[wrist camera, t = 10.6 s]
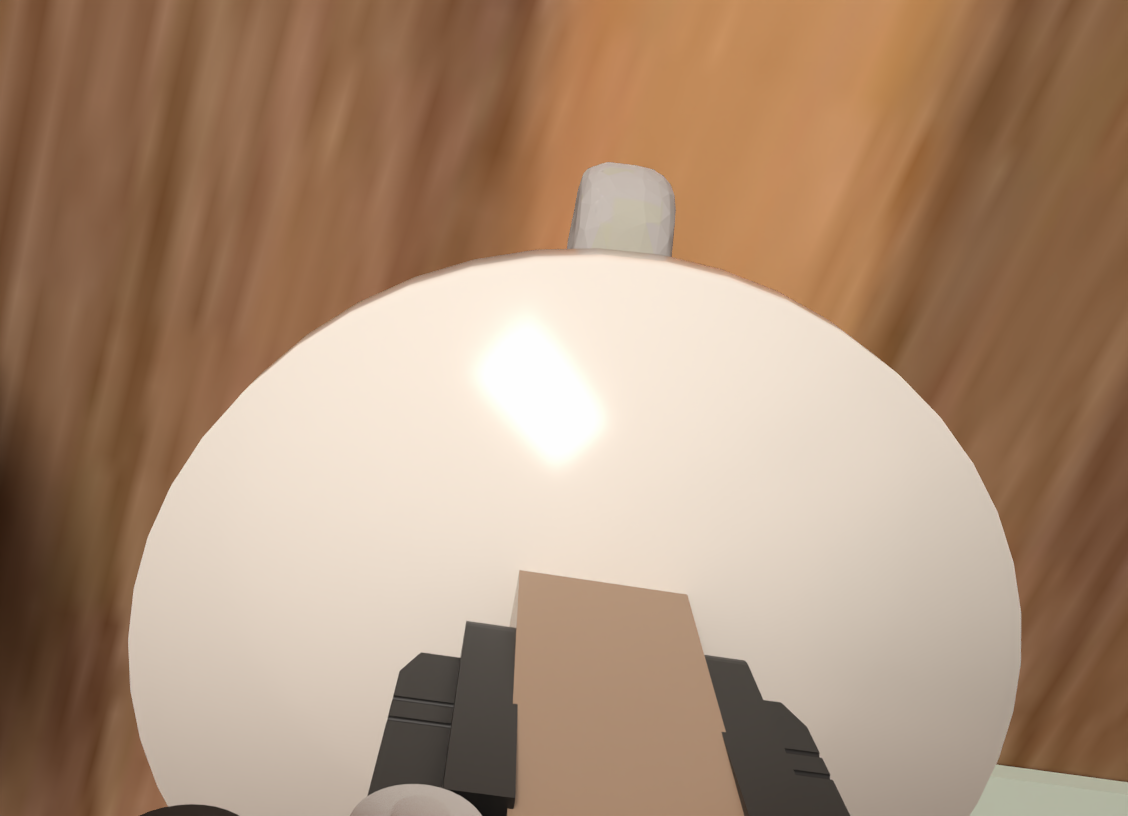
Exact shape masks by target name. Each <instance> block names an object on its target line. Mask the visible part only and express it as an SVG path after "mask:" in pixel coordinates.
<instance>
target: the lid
mask: <svg viewBox="0 0 1128 816" xmlns="http://www.w3.org/2000/svg"><path fill="white" fill-rule="evenodd" d="M466 621H471V622H479V623H486V624H493V625H500V626H507V627H514V628H515V653H514V682H513V704H518V711H517V752H516V793H515V803H514V808H513V809H507V814H506V816H744V813H743V809H742V805H741V802H740V798H739V795H738V791H737V787H736V784H735V780H734V776H733V773H732V769H731V765H730V762H729V758H728V754H727V751H726V747H725V743H724V740H723V736H722V732H726V730H725V727H724V723H723V720H722V716H721V713H720V709H719V706H718V702H717V698H716V695H715V691H714V688H713V684H712V681H711V677H710V674H709V670H708V666H707V663H706V659H705V656H704V655H710V656H717V657H724V658H731V659H738V660H744V661H746V662H747V664H748V666H749V668H750V670H751V673H752V675H753V677H754V680H755V682H756V684H757V686H758V689H759V691H760V693H761V696H762V698H763V700H767V701H775V702H781V703H782V704H783V705H784V706H785V707H786V708H788V709H789V710H790V711H791V712H792V713H793V714H794V715H795V716H796V717H797V718H798V719H799V720H800V721H801V722H802V723H803V724H805V725H806V726H807V728H808V730H809V732H810V734H811V736H812V738H813V740H814V742H815V744H816V746H817V748H818V750H819V752H820V754H819V757H820V758H822V759H823V761H824V763H825V765H826V767H827V769H828V771H829V773H830V780H833V781H834V783H835V785H836V787H837V789H838V791H839V793H840V795H841V797H842V799H843V802H844V804H845V806H846V808H847V810H848V812H849V814H850V816H970V814H971V812H972V811H973V809H974V808H975V806H976V805H977V803H978V801H979V799H980V797H981V795H982V793H983V791H984V788H985V786H986V784H987V782H988V780H989V778H990V776H991V774H992V772H993V769H994V767H995V765H996V763H997V761H998V759H999V756H1000V753H1001V749H1002V746H1003V743H1004V740H1005V736H1006V733H1007V730H1008V727H1009V724H1010V720H1011V717H1012V714H1013V710H1014V703H1015V697H1016V691H1017V684H1018V678H1019V671H1020V665H1021V609H1020V602H1019V596H1018V589H1017V583H1016V576H1015V569H1014V563H1013V559H1012V556H1011V553H1010V550H1009V547H1008V544H1007V540H1006V537H1005V534H1004V531H1003V528H1002V525H1001V522H1000V518H999V515H998V512H997V510H996V508H995V506H994V504H993V502H992V500H991V498H990V496H989V494H988V492H987V490H986V488H985V486H984V484H983V482H982V480H981V478H980V476H979V474H978V472H977V470H976V468H975V466H974V464H973V462H972V461H971V460H970V458H969V457H968V455H967V454H966V453H965V451H964V450H963V448H962V447H961V446H960V444H959V443H958V441H957V440H956V439H955V437H954V436H953V434H952V433H951V432H950V430H949V429H948V427H947V426H946V425H945V423H944V422H943V420H942V419H941V418H940V417H939V415H938V414H937V413H936V412H935V411H934V410H933V409H932V408H931V407H930V406H929V405H928V404H927V403H926V402H925V401H924V400H923V399H922V398H921V397H920V396H919V395H918V394H917V393H916V392H915V391H914V390H913V389H912V388H911V387H910V386H909V385H908V384H907V383H906V382H905V380H904V379H903V378H902V377H901V376H900V375H898V374H897V373H896V372H895V371H894V370H892V369H891V368H890V367H889V366H887V365H886V364H885V363H884V362H883V361H881V360H880V359H879V358H878V357H876V356H875V355H874V354H873V353H871V352H870V351H869V350H867V349H866V348H865V347H864V346H862V345H861V344H860V343H858V342H857V341H856V340H854V339H853V338H852V337H851V336H849V335H848V334H847V333H845V332H844V331H843V330H841V329H840V328H839V327H837V326H836V325H835V324H834V323H832V322H831V321H830V320H828V319H826V318H824V317H823V316H821V315H819V314H817V313H816V312H814V311H812V310H810V309H808V308H807V307H805V306H803V305H801V304H799V303H798V302H796V301H794V300H792V299H791V298H789V297H787V296H785V295H783V294H782V293H780V292H778V291H776V290H773V289H771V288H768V287H765V286H763V285H760V284H758V283H755V282H753V281H750V280H748V279H745V278H742V277H740V276H737V275H735V274H732V273H730V272H727V271H725V270H722V269H718V268H714V267H710V266H706V265H702V264H698V263H694V262H689V261H685V260H681V259H677V258H673V257H669V256H665V255H659V254H650V253H640V252H631V251H622V250H612V249H603V248H585V249H546V250H531V251H525V252H519V253H512V254H506V255H500V256H493V257H487V258H481V259H474V260H471V261H467V262H464V263H461V264H457V265H454V266H451V267H447V268H444V269H441V270H437V271H434V272H430V273H427V274H424V275H420V276H417V277H414V278H412V279H409V280H407V281H405V282H403V283H400V284H398V285H396V286H394V287H392V288H389V289H387V290H385V291H383V292H380V293H378V294H376V295H374V296H372V297H369V298H367V299H365V300H363V301H360V302H358V303H357V304H355V305H353V306H352V307H350V308H349V309H347V310H345V311H344V312H342V313H341V314H339V315H338V316H336V317H334V318H333V319H331V320H330V321H328V322H326V323H325V324H323V325H322V326H320V327H318V328H317V329H315V330H314V331H312V332H310V333H309V334H307V335H306V336H305V337H304V338H303V339H301V340H300V341H299V342H298V343H297V344H295V345H294V346H293V347H292V348H291V349H289V350H288V351H287V352H286V353H285V354H284V355H282V356H281V357H280V358H279V359H278V360H276V361H275V362H274V363H273V364H272V365H270V366H269V367H268V368H267V369H266V370H265V371H263V372H262V373H261V374H260V375H259V376H258V377H257V379H256V380H255V381H254V382H253V383H252V384H251V385H250V386H249V387H248V388H247V389H246V390H245V391H244V392H243V393H242V394H241V395H240V396H239V397H238V398H237V400H236V401H235V402H234V403H233V404H232V405H231V406H230V407H229V409H228V410H227V411H226V412H225V413H224V414H223V415H222V416H221V418H220V419H219V420H218V421H217V422H216V423H215V424H214V425H213V427H212V428H211V429H210V430H209V431H208V432H207V433H206V434H205V436H204V437H203V438H202V439H201V441H200V442H199V444H198V445H197V447H196V448H195V450H194V451H193V453H192V454H191V456H190V458H189V459H188V461H187V462H186V464H185V465H184V467H183V468H182V470H181V471H180V473H179V474H178V476H177V478H176V479H175V481H174V482H173V484H172V485H171V487H170V489H169V491H168V494H167V496H166V498H165V500H164V502H163V505H162V507H161V509H160V511H159V513H158V516H157V518H156V520H155V522H154V525H153V527H152V529H151V531H150V533H149V536H148V539H147V542H146V546H145V549H144V553H143V557H142V560H141V564H140V568H139V571H138V575H137V579H136V582H135V586H134V591H133V600H132V609H131V618H130V627H129V636H128V649H129V670H130V691H131V696H132V701H133V706H134V711H135V716H136V721H137V726H138V731H139V735H140V740H141V743H142V745H143V748H144V751H145V754H146V757H147V759H148V762H149V765H150V768H151V770H152V773H153V776H154V779H155V781H156V784H157V786H158V788H159V790H160V792H161V794H162V796H163V798H164V800H165V801H166V803H167V805H168V807H169V806H175V805H186V804H197V805H208V806H215V807H219V808H222V809H226V810H228V811H231V812H233V813H235V814H237V815H239V816H350V814H351V812H352V810H353V809H354V808H355V807H356V806H357V804H358V803H359V802H360V801H362V800H363V799H364V798H365V797H367V795H368V791H369V788H370V784H371V780H372V776H373V772H374V768H375V764H376V761H377V757H378V753H379V749H380V745H381V741H382V737H383V733H384V730H385V726H386V722H387V719H388V714H389V710H390V706H391V702H392V700H393V695H394V691H395V687H396V683H397V679H398V675H399V671H400V670H401V669H402V668H404V667H405V666H406V665H407V664H408V663H409V662H410V661H412V660H413V659H414V658H415V657H416V656H417V655H418V654H420V653H421V652H422V653H430V654H437V655H444V656H451V657H459V658H460V656H461V650H462V644H463V637H464V631H465V625H466Z"/></svg>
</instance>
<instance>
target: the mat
mask: <svg viewBox="0 0 1128 816" xmlns="http://www.w3.org/2000/svg"><path fill="white" fill-rule="evenodd" d="M970 816H1128V782H1122V781H1114V780H1107V779H1099V778H1092V777H1085V776H1077V775H1070V774H1062V773H1055V772H1048V771H1040V770H1033V769H1025V768H1018V767H1011V766H1003V765H995V767H994V769H993V772H992V774H991V776H990V778H989V780H988V782H987V784H986V786H985V788H984V791H983V793H982V795H981V797H980V799H979V801H978V803H977V805H976V806H975V808H974V809H973V811H972V812H971V814H970Z"/></svg>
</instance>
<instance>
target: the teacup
mask: <svg viewBox="0 0 1128 816" xmlns="http://www.w3.org/2000/svg"><path fill="white" fill-rule="evenodd" d="M675 211H676V209H675V197H674V193H673V190H672V187H671V185H670V183H669V182H668V181H667V180H666V179H665V177H664V176H663V175H661V174H659V173H658V172H656V171H655V170H653V169H649V168H645V167H641V166H636V165H628V164H620V163H612V162H606V163H603V164H600V165H597V166H594V167H591V168H588V169H587V170H586V172H585V173H584V174H583V177H582V180H581V183H580V186H579V189H578V193H577V198H576V204H575V209H574V214H573V219H572V224H571V228H570V233H569V238H568V246H567V249H585V248H603V249H612V250H622V251H631V252H640V253H650V254H659V255H665V256H669V257H671V256H672V246H673V235H674V225H675Z"/></svg>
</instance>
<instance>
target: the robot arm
mask: <svg viewBox="0 0 1128 816" xmlns="http://www.w3.org/2000/svg"><path fill="white" fill-rule="evenodd" d="M514 653H515V628H514V627H507V626H500V625H493V624H486V623H479V622H471V621H466V625H465V631H464V637H463V644H462V650H461V656H460V658H459V657H451V656H444V655H437V654H430V653H422V652H421V653H420V654H418V655H417V656H416V657H415V658H414V659H413V660H412V661H410V662H409V663H408V664H407V665H406V666H405V667H404V668H402V669H401V670H400V671H399V675H398V679H397V683H396V687H395V691H394V695H393V700H392V702H391V706H390V710H389V714H388V719H387V722H386V726H385V730H384V733H383V737H382V741H381V745H380V749H379V753H378V757H377V761H376V764H375V768H374V772H373V776H372V780H371V784H370V788H369V791H368V795H367V797H365V798H364V799H363V800H362V801H360V802H359V803H358V804H357V806H356V807H355V808H354V809H353V810H352V812H351V814H350V816H506V814H507V809H513V808H514V803H515V793H516V752H517V711H518V704H513V682H514ZM704 656H705V659H706V663H707V666H708V670H709V674H710V677H711V681H712V684H713V688H714V691H715V695H716V698H717V702H718V706H719V709H720V713H721V716H722V720H723V723H724V727H725V730H726V732H722V736H723V740H724V743H725V747H726V751H727V754H728V758H729V762H730V765H731V769H732V773H733V776H734V780H735V784H736V787H737V791H738V795H739V798H740V802H741V805H742V809H743V813H744V816H850V814H849V812H848V810H847V808H846V806H845V804H844V802H843V799H842V797H841V795H840V793H839V791H838V789H837V787H836V785H835V783H834V781H833V780H830V773H829V771H828V769H827V767H826V765H825V763H824V761H823V759H822V758H820V757H819V754H820V752H819V750H818V748H817V746H816V744H815V742H814V740H813V738H812V736H811V734H810V732H809V730H808V728H807V726H806V725H805V724H803V723H802V722H801V721H800V720H799V719H798V718H797V717H796V716H795V715H794V714H793V713H792V712H791V711H790V710H789V709H788V708H786V707H785V706H784V705H783V704H782V703H781V702H775V701H767V700H763V698H762V696H761V693H760V691H759V689H758V686H757V684H756V682H755V680H754V677H753V675H752V673H751V670H750V668H749V666H748V664H747V662H746V661H744V660H738V659H731V658H724V657H717V656H710V655H704ZM140 816H239V815H237V814H235V813H233V812H231V811H228V810H226V809H222V808H219V807H215V806H208V805H197V804H186V805H175V806H169V807H164V808H160V809H157V810H153V811H150V812H147V813H145V814H143V815H140Z"/></svg>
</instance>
